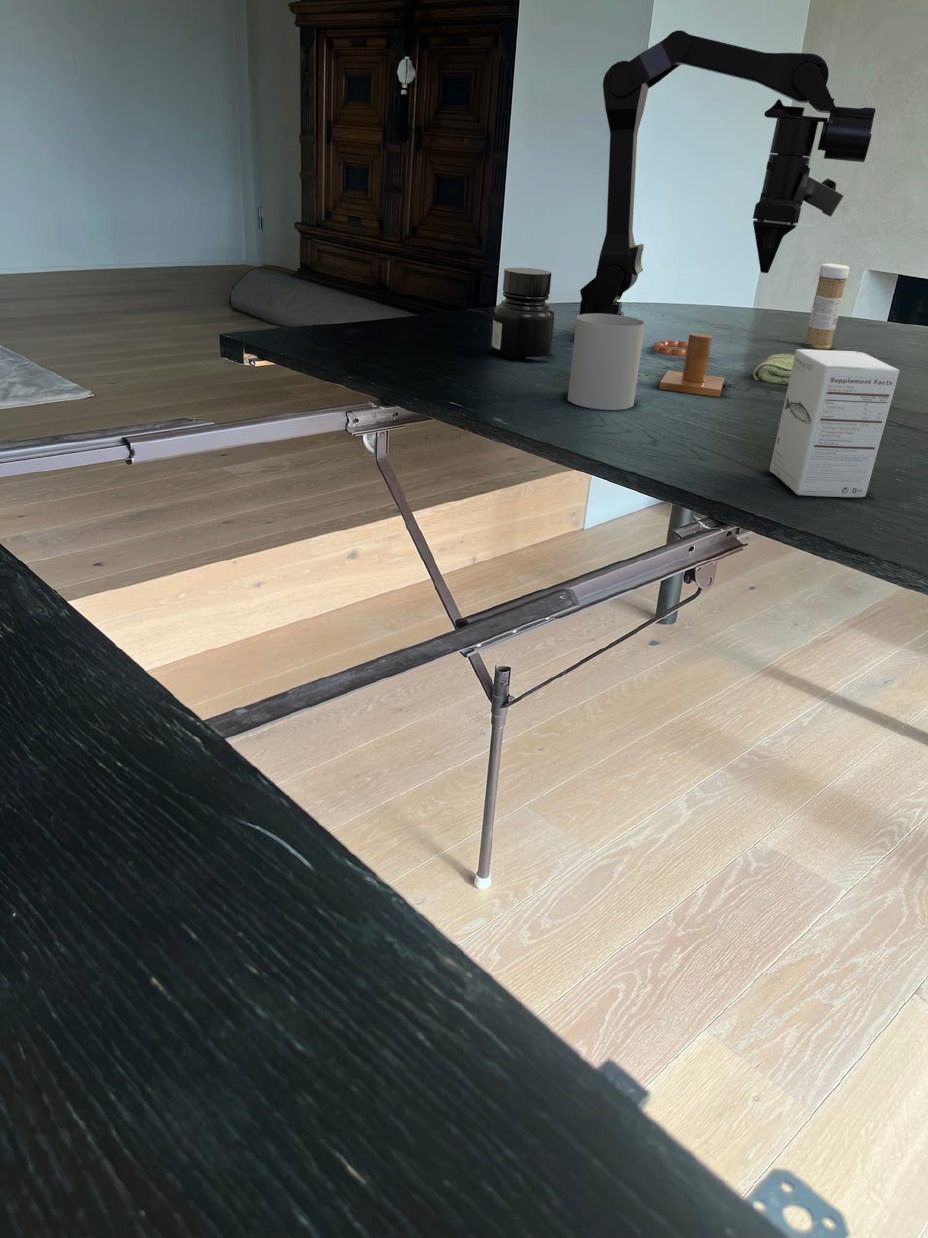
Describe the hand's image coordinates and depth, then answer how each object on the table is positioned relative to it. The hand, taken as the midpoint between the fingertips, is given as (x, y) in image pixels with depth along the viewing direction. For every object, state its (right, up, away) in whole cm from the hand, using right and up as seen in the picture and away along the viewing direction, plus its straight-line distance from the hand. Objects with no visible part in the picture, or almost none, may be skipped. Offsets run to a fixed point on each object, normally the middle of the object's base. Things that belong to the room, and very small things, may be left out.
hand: (765, 269), depth 145 cm
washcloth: (+5, -20, -8) cm, 22 cm away
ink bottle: (-37, -14, -2) cm, 40 cm away
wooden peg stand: (-14, -21, -14) cm, 29 cm away
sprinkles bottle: (+15, -7, +19) cm, 25 cm away
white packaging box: (-11, -40, -49) cm, 64 cm away
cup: (-29, -26, -24) cm, 45 cm away
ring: (-12, -11, +5) cm, 17 cm away
